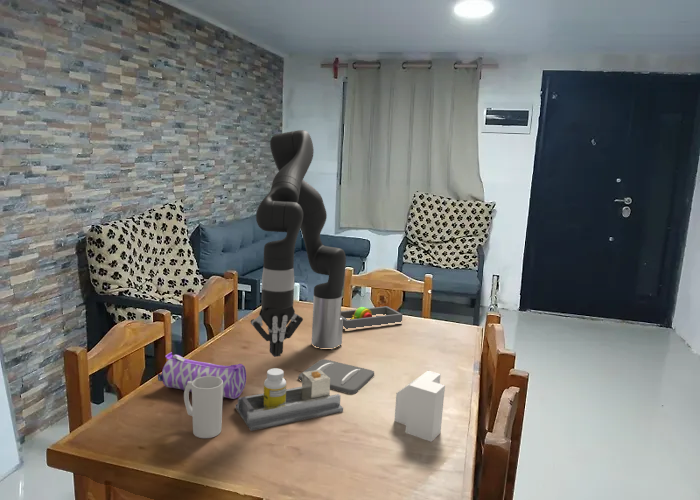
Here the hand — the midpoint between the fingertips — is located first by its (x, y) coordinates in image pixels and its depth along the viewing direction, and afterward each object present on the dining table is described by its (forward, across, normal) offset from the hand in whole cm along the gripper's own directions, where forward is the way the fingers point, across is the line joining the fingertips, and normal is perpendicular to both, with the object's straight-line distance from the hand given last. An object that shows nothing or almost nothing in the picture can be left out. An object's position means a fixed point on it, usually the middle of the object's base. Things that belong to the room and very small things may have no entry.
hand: (275, 355), depth 131 cm
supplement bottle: (+14, 0, 0) cm, 14 cm away
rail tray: (+15, -4, 0) cm, 16 cm away
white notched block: (+15, -30, +19) cm, 39 cm away
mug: (+15, +18, +1) cm, 24 cm away
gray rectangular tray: (+15, -57, -52) cm, 79 cm away
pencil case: (+15, +13, -18) cm, 27 cm away
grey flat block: (+16, -24, -13) cm, 31 cm away
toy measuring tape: (+15, -58, -53) cm, 80 cm away
